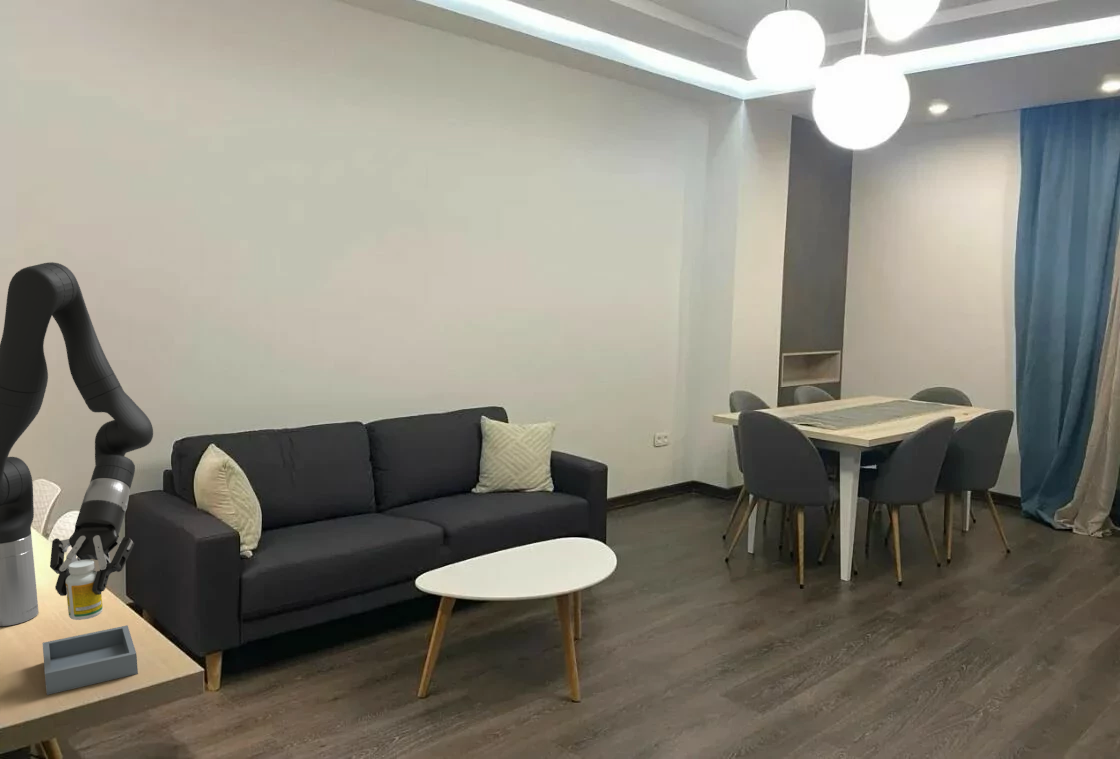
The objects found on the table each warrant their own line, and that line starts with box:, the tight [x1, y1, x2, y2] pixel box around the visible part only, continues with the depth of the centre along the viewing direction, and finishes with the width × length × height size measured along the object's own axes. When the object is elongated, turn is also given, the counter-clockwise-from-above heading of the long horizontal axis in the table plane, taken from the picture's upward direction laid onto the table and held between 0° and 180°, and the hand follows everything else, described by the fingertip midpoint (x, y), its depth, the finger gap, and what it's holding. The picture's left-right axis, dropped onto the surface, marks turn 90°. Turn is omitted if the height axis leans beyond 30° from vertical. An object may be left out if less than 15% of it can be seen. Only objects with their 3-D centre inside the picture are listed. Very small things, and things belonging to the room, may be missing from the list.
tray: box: [42, 624, 139, 696], centre depth 155 cm, size 14×14×4 cm
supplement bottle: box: [66, 559, 104, 621], centre depth 153 cm, size 5×5×10 cm
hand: (79, 593), depth 152 cm, fingers closed on supplement bottle, 5 cm apart
